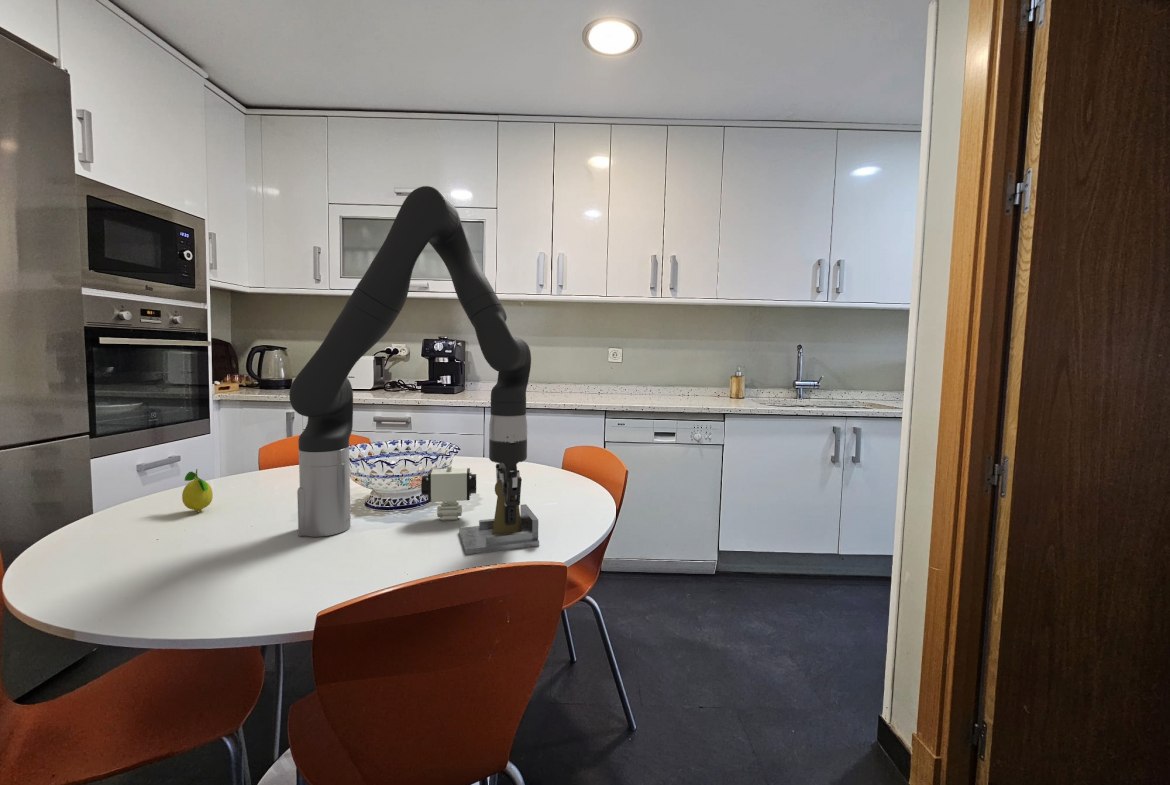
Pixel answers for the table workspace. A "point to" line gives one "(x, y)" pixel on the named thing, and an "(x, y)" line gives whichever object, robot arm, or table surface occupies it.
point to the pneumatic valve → (448, 490)
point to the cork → (499, 518)
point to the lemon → (196, 493)
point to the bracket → (500, 535)
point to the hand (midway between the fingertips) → (507, 519)
